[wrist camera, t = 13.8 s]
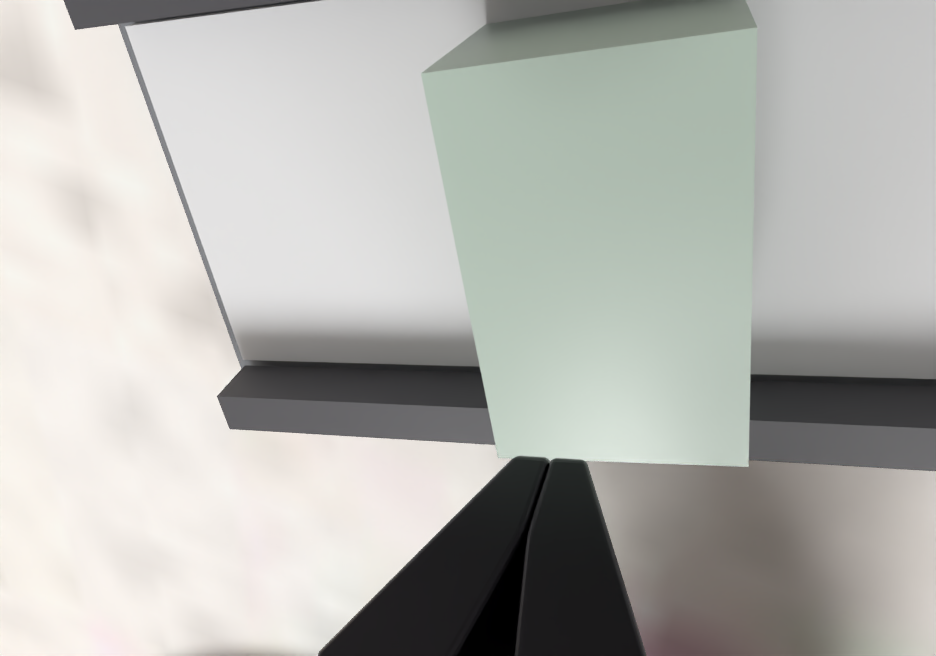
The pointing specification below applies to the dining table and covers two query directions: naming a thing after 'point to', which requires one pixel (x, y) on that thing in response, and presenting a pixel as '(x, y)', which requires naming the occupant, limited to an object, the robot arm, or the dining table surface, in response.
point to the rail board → (431, 237)
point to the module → (607, 226)
